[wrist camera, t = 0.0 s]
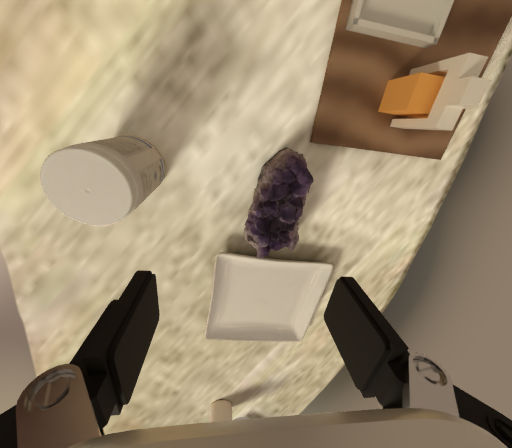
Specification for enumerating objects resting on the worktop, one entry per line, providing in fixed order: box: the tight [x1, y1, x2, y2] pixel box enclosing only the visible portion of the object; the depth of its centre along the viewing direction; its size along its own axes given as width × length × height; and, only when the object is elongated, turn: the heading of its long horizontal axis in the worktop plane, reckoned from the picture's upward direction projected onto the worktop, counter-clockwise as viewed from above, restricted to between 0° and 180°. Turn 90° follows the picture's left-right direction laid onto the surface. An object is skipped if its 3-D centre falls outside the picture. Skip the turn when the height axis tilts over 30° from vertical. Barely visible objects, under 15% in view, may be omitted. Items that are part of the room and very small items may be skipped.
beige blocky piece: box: [390, 53, 491, 131], centre depth 31 cm, size 8×3×11 cm, turn 173°
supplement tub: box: [40, 136, 165, 226], centre depth 30 cm, size 10×10×15 cm
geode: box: [244, 148, 313, 258], centre depth 38 cm, size 20×12×10 cm, turn 170°
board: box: [310, 0, 512, 160], centre depth 34 cm, size 27×27×1 cm
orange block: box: [378, 72, 445, 119], centre depth 33 cm, size 4×9×6 cm, turn 83°
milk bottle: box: [209, 400, 232, 422], centre depth 66 cm, size 8×8×20 cm
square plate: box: [205, 252, 334, 342], centre depth 52 cm, size 27×27×4 cm
